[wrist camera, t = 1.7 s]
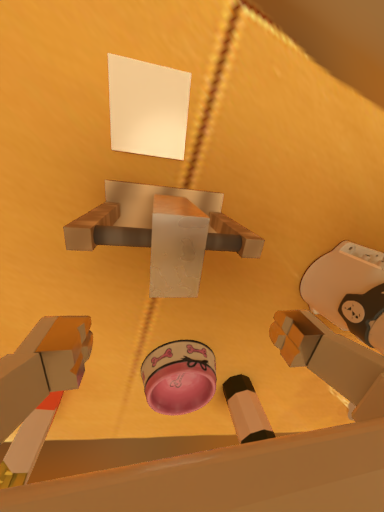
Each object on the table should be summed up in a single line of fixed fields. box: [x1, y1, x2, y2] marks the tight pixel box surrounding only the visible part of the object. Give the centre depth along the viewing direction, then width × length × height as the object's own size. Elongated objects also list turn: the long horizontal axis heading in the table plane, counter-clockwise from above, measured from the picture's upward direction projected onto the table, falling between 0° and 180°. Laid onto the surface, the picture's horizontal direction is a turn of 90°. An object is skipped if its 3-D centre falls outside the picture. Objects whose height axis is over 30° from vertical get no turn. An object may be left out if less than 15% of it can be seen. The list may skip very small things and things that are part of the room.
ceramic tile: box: [108, 53, 191, 160], centre depth 25 cm, size 10×10×1 cm
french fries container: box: [0, 391, 64, 489], centre depth 35 cm, size 5×11×18 cm, turn 155°
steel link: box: [149, 194, 210, 297], centre depth 20 cm, size 4×7×12 cm, turn 173°
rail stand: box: [63, 180, 265, 258], centre depth 24 cm, size 18×8×16 cm, turn 83°
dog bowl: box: [141, 340, 217, 415], centre depth 44 cm, size 18×19×7 cm
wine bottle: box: [223, 374, 276, 444], centre depth 41 cm, size 8×8×30 cm
